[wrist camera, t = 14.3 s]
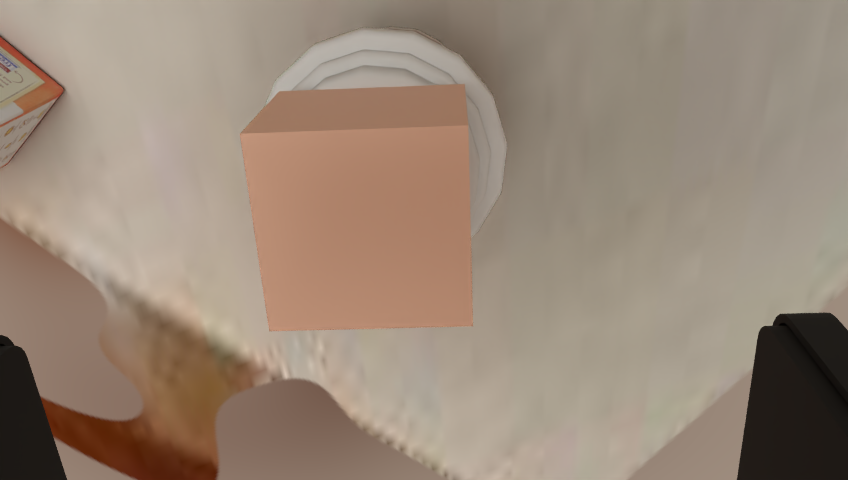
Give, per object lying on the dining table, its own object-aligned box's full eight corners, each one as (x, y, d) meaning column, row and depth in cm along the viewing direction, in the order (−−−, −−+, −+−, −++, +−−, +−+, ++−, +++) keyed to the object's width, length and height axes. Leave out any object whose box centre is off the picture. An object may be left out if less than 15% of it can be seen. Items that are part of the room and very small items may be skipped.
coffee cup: (288, 8, 35) (213, 55, 24) (484, -16, 34) (500, 20, 23) (322, 192, 38) (271, 305, 28) (500, 173, 38) (520, 282, 27)
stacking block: (464, 83, 24) (468, 125, 19) (468, 253, 26) (472, 326, 22) (279, 91, 24) (239, 133, 20) (300, 258, 27) (269, 331, 22)
